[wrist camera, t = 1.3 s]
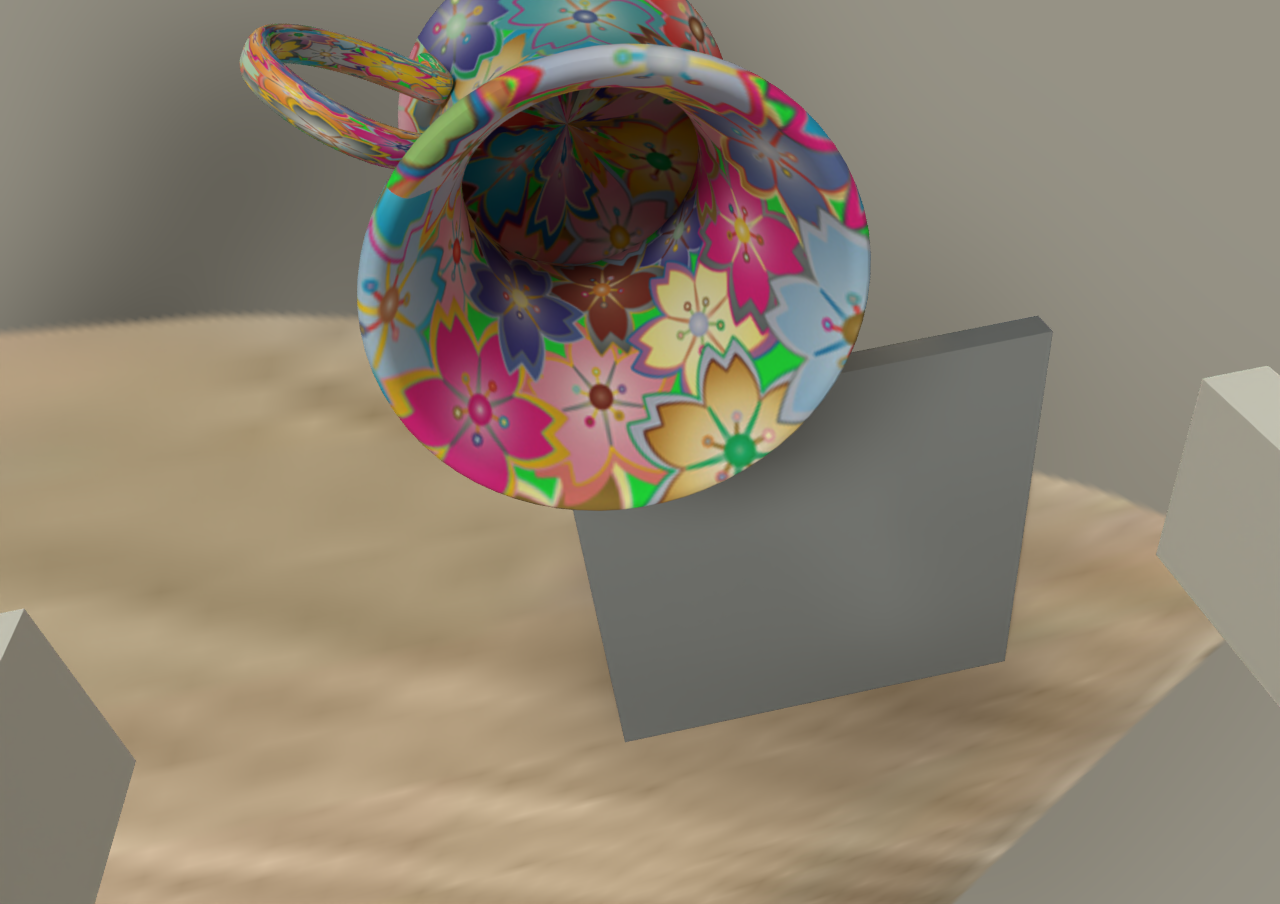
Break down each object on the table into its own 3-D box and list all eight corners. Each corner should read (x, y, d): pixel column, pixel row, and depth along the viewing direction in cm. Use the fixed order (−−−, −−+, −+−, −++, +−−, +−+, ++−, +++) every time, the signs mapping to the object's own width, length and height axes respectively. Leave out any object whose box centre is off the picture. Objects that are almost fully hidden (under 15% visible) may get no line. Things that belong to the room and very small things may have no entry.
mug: (807, 60, 27) (976, 232, 18) (612, 328, 31) (679, 570, 22) (387, -253, 21) (355, -212, 13) (217, 121, 25) (108, 336, 17)
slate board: (621, 722, 42) (625, 742, 41) (552, 411, 32) (555, 429, 31) (994, 642, 43) (1004, 661, 42) (1037, 315, 33) (1052, 331, 32)
